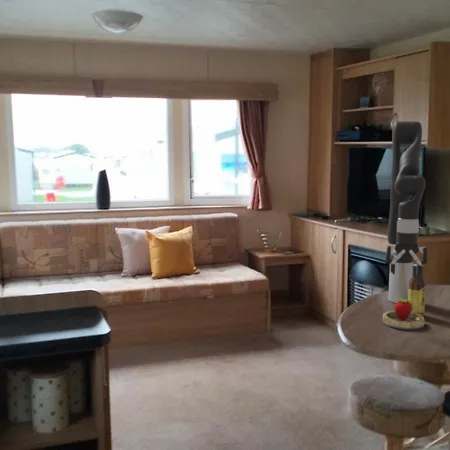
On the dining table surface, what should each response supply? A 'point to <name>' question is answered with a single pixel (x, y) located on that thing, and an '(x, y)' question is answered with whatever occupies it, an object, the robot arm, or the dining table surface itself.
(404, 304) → the strawberry
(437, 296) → the dining table surface
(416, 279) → the sauce bottle
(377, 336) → the dining table surface
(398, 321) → the tan rimmed round bowl
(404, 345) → the dining table surface
